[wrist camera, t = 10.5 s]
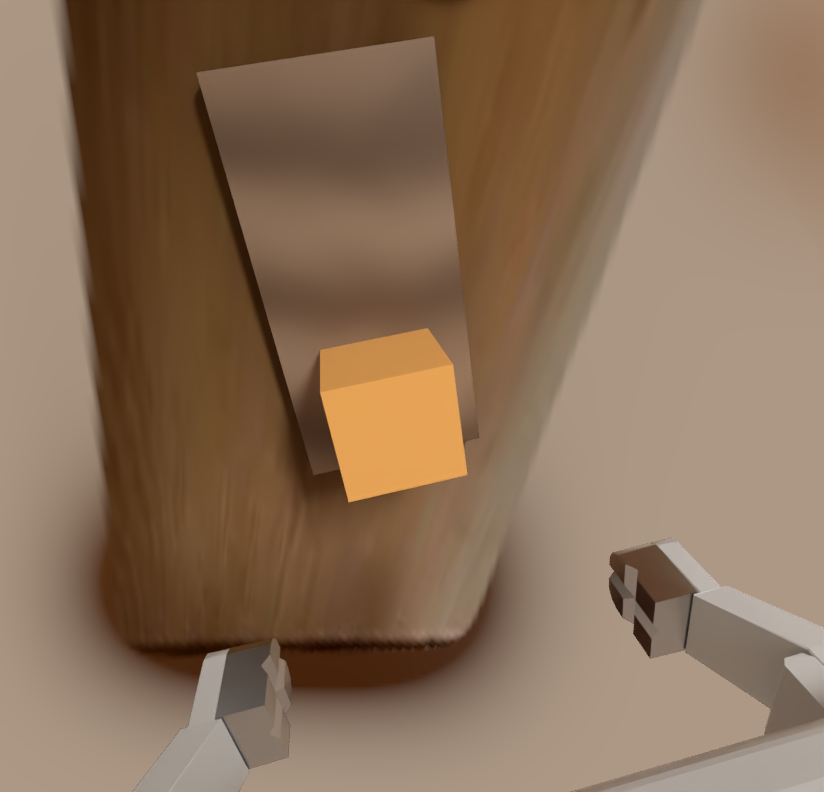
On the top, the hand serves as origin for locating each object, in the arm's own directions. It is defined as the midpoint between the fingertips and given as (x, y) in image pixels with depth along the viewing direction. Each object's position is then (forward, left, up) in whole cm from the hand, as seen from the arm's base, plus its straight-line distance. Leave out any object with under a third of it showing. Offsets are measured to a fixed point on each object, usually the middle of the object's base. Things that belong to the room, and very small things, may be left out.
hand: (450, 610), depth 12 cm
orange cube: (0, 0, -14) cm, 14 cm away
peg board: (-5, 0, -15) cm, 16 cm away
